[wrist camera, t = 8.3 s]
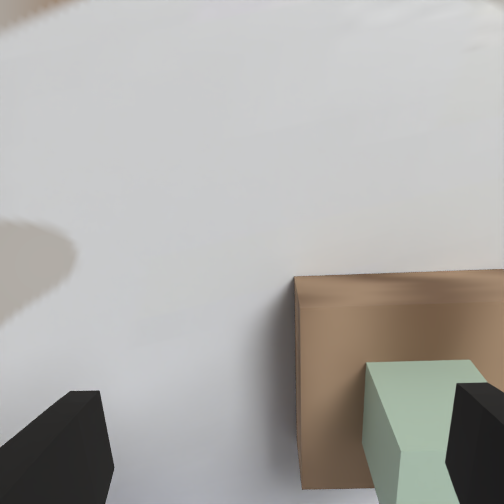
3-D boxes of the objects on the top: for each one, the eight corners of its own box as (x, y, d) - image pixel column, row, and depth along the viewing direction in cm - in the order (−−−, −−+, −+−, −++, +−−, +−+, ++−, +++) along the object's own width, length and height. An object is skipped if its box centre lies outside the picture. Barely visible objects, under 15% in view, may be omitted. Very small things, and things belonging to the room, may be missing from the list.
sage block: (361, 443, 18) (392, 547, 14) (366, 362, 17) (400, 451, 13) (457, 441, 18) (517, 546, 14) (469, 359, 17) (540, 448, 13)
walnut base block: (296, 439, 22) (302, 489, 19) (294, 276, 19) (300, 308, 16) (476, 434, 22) (508, 485, 19) (503, 269, 19) (546, 300, 16)
